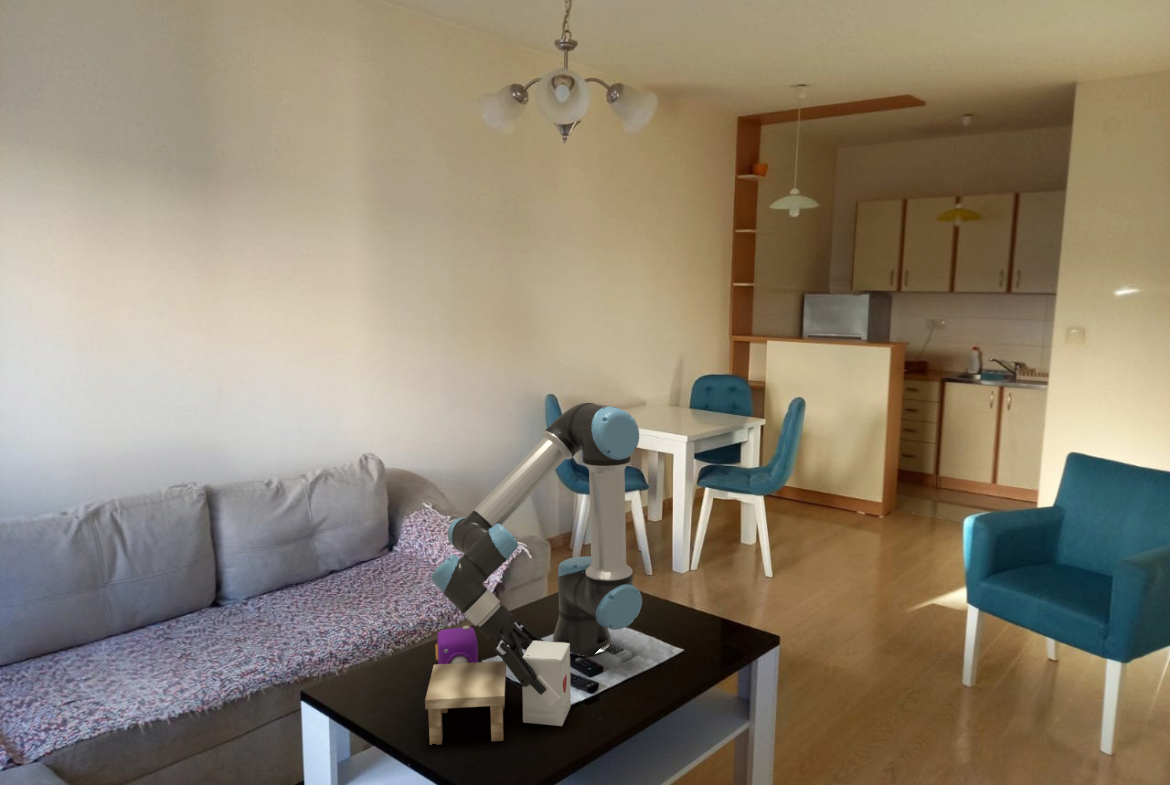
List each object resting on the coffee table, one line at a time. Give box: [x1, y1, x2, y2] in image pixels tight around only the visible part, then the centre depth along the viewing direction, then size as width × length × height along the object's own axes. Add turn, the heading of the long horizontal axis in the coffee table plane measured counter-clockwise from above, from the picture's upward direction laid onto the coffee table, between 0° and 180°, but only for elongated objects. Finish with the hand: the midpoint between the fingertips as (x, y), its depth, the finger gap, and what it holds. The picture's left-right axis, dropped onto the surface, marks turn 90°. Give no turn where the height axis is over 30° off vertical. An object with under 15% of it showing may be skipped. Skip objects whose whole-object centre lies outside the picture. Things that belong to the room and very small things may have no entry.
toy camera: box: [434, 625, 479, 664], centre depth 196 cm, size 11×14×10 cm
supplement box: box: [521, 640, 572, 727], centre depth 176 cm, size 9×9×15 cm
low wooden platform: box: [424, 660, 507, 746], centre depth 173 cm, size 16×16×10 cm
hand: (561, 690), depth 175 cm, fingers closed on supplement box, 9 cm apart
